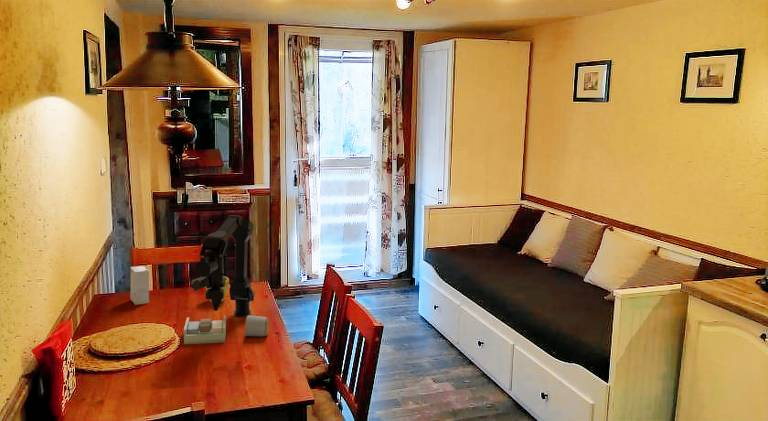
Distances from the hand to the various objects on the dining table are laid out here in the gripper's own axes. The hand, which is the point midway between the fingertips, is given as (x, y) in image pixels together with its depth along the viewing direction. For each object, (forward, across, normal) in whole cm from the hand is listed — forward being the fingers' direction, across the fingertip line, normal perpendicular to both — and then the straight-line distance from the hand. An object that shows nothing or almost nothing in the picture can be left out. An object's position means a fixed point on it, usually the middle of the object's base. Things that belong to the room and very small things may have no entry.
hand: (215, 310), depth 221 cm
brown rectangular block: (+7, 0, -4) cm, 8 cm away
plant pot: (+10, -43, -1) cm, 44 cm away
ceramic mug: (+10, 0, +15) cm, 18 cm away
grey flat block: (+8, 0, -8) cm, 11 cm away
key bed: (+10, 0, -4) cm, 11 cm away
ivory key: (+8, 0, 0) cm, 8 cm away
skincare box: (+10, -45, -33) cm, 57 cm away
